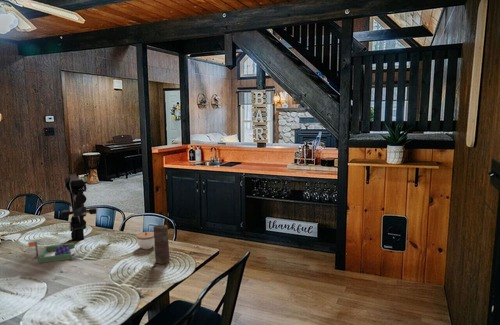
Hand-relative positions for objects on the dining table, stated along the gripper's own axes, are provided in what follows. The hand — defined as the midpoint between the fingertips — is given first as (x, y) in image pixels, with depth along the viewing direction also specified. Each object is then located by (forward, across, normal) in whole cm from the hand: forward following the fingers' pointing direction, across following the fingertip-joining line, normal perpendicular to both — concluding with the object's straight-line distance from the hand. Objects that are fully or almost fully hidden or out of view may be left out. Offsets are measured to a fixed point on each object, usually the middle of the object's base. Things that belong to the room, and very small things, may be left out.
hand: (80, 226), depth 205 cm
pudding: (+13, -9, -11) cm, 19 cm away
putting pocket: (+12, -15, -10) cm, 21 cm away
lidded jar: (+12, +36, -18) cm, 42 cm away
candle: (+12, +42, -42) cm, 61 cm away
